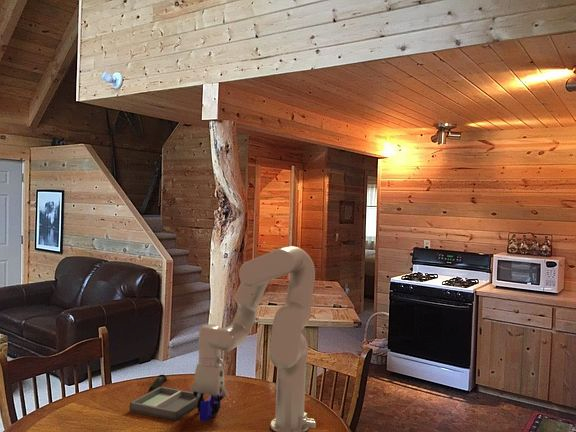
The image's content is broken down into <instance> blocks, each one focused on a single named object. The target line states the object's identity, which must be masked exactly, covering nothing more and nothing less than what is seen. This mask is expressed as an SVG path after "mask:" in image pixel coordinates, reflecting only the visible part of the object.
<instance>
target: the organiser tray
mask: <svg viewBox="0 0 576 432" xmlns="http://www.w3.org/2000/svg"><path fill="white" fill-rule="evenodd" d="M203 398H204V396H203ZM204 399H205V398H204ZM197 406H198V401H197V400H196V397H195V396H194V394H193V393H192V391H187V390H181V389H177V388H171V387H167V386H162V385H161V386H160V387H158V388H157V389H155V390H153V391H149V392H147V393H146V394H143V395H142V396H139V397H138V398H136V399H134V400H132V401H130V402H129V412H131V413H136V414H142V415H146V416H149V417H150V416H151V417H153V418H154V417H155V418H159V419H163V420H164V419H165V420H170V421H173V422H176V421H178V420H179V419H181V418H182V417H184V416H185V415H187V414H188V413H190V412H192V411H193V410H194V409H196V408H197Z"/></svg>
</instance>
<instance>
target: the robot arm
mask: <svg viewBox="0 0 576 432" xmlns="http://www.w3.org/2000/svg"><path fill="white" fill-rule="evenodd" d="M315 269H316V268H315V264H314V261H313V260H312V258H311V256H310V255H309V254H308V252H306V251H305V249H302V248H300V247H298V246H293V245H290V246H284V247H280V248H276V249H274V250H272V251H269V252H267V253H265V254H263V255H260V256H257V257H255V258H252V259H250V260H249V259H248V260H247V261H245V262H243V264H242V265H241V266H240V268H239V271H238V276H239V277H238V278H239V280H240V285H239V287H238V289H237V291H236V293H235V295H234V300H235V302H236V303H237V308H236V309H237V310H236V312H235V315H234V318H233V320H232V322H231V324H229V325H227V327H223V328H221V326H220V325H218V324H212V323H208V324H203V325H201V326H200V327H199V331H198V363H196V367H195V372H194V381H193V384H192V385H191V386H190V387H189V391H190V392H192V393H193V394H194V396H195V397H196V400H197V401H198V406H197V407H196V408H197V412H198V413H200V402H201V401H205V398H203V396H204V395H209V396H211V395H212V396H213V400H214V403H213V405H212V415H213V416H216V415H217V414H218V413H219V411H220V409H219V402H220V401H222V400H223V399H224V398H226V397H227V396H228V395H229V392H228V391H227V389H226V387H225V385H226V384H225V373H224V372H225V371H224V367H223V363H224V359H223V358H222V357H221V351H223V352H230V351H232V350H234V349H235V348H237V347H238V346H240V345H242V344H243V343H244V342H245V341H246V340H247V338H248V337H249V334H250V332H251V330H252V328H253V326H254V323H255V320H256V316H257V312H258V306H259V304H260V301H261V299H262V297H263V295H264V293H265V291H266V290H267V289H266V288H267V286H268V285H269V282H270V281H273V280H275V279H277V278H279V277H280V278H281V277H282V276H283V277H284V276H286V275H288V274H290V279H289V282H288V286H287V291H286V292H287V293H286V297H285V302H284V305H281V306H280V308H278V310H276V313H275V314H274V318H273V321H272V329H271V334H270V341H269V349H268V354H269V355H268V356H269V359H270V361H271V363H272V364H273V366H275V367H276V390H275V392H276V393H275V395H276V396H275V417H274V419H272V420H271V421H270V428H271V430H273V432H307V431H308V429H309V428H313V429H315V428H316V427H317V426H316V425H317V422H316V421H315V419H314V418H310V417H309V418H308V413H307V412H305V401H306V400H305V399H306V398H305V397H306V396H305V395H306V393H305V392H306V371H307V361H308V359H307V358H308V351H309V344H308V341H307V339H306V337H305V336H304V334H303V333H302V330H303V329H304V328H305V327H306V326H308V324H309V322H310V319H311V310H312V305H313V303H312V302H313V297H314V287H315V279H316V270H315ZM219 392H221V396H220V394H219Z"/></svg>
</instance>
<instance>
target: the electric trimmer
mask: <svg viewBox="0 0 576 432" xmlns="http://www.w3.org/2000/svg"><path fill="white" fill-rule="evenodd" d="M166 381H168V379H167V375H166V374H159V375H158V376H157V377H156V379H155V380H154V382H153V383H152V384H151V385H150V386H149V389H148V391H149V392H151V391H153V390H155V389H157V388H158V387H160V386H161V387H162V384H163V383H164V382H166Z"/></svg>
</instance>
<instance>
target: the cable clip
mask: <svg viewBox="0 0 576 432" xmlns="http://www.w3.org/2000/svg"><path fill="white" fill-rule="evenodd" d="M219 394H220V396H221V395H222V392H219ZM221 401H222V400H221ZM221 401H220V402H219V410H220V409H221ZM213 403H214V400H213V396H212V395H210V397H208V398H207V399H206V401H205V400H204V401H201V402H200V412H199V421H203V422H209V420H210V419H212V417H214V415H212V405H213Z"/></svg>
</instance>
